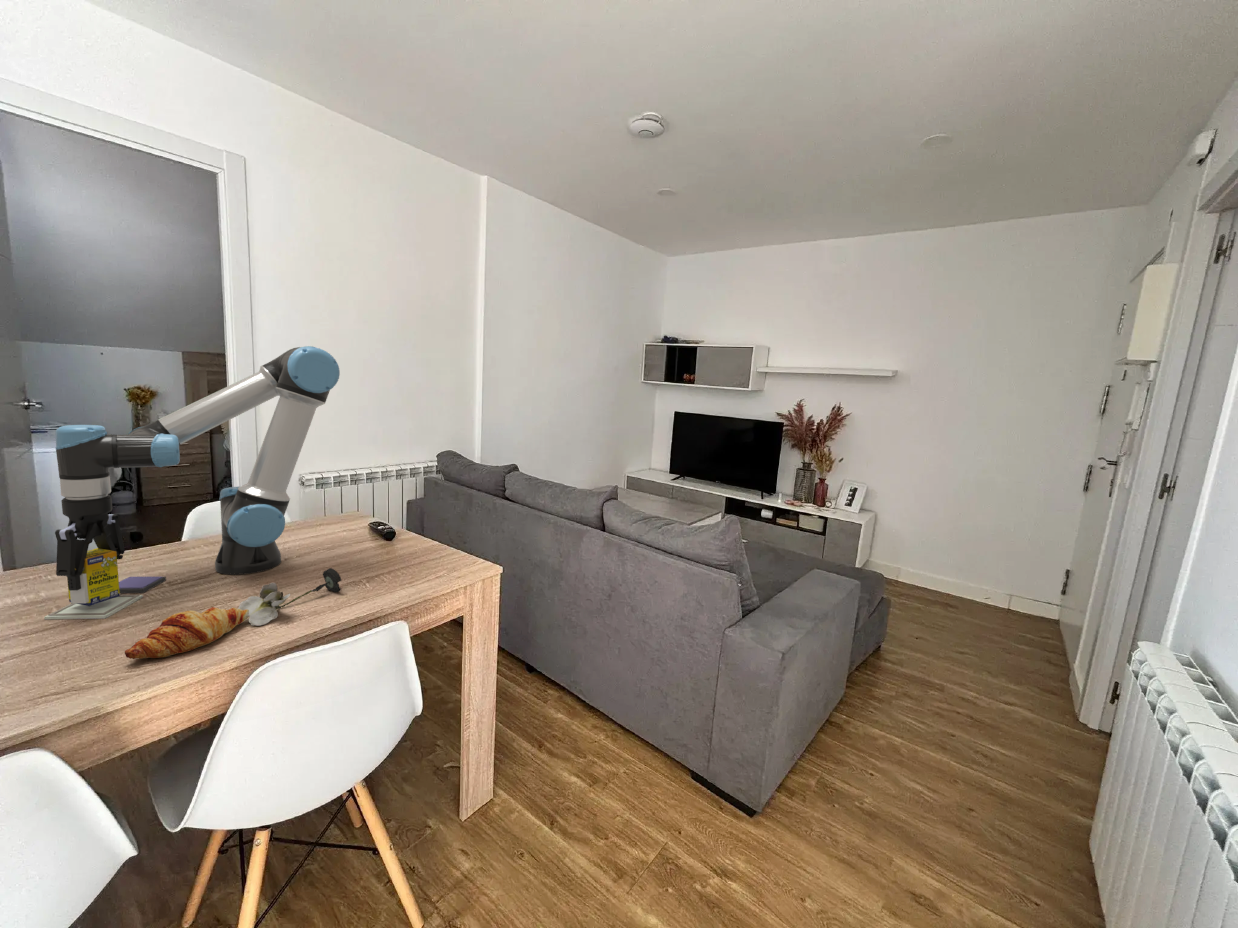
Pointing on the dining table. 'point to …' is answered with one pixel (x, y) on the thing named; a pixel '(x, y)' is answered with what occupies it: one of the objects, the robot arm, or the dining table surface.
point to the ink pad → (139, 584)
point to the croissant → (186, 632)
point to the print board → (94, 608)
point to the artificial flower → (280, 599)
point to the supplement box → (100, 576)
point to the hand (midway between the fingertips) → (95, 594)
